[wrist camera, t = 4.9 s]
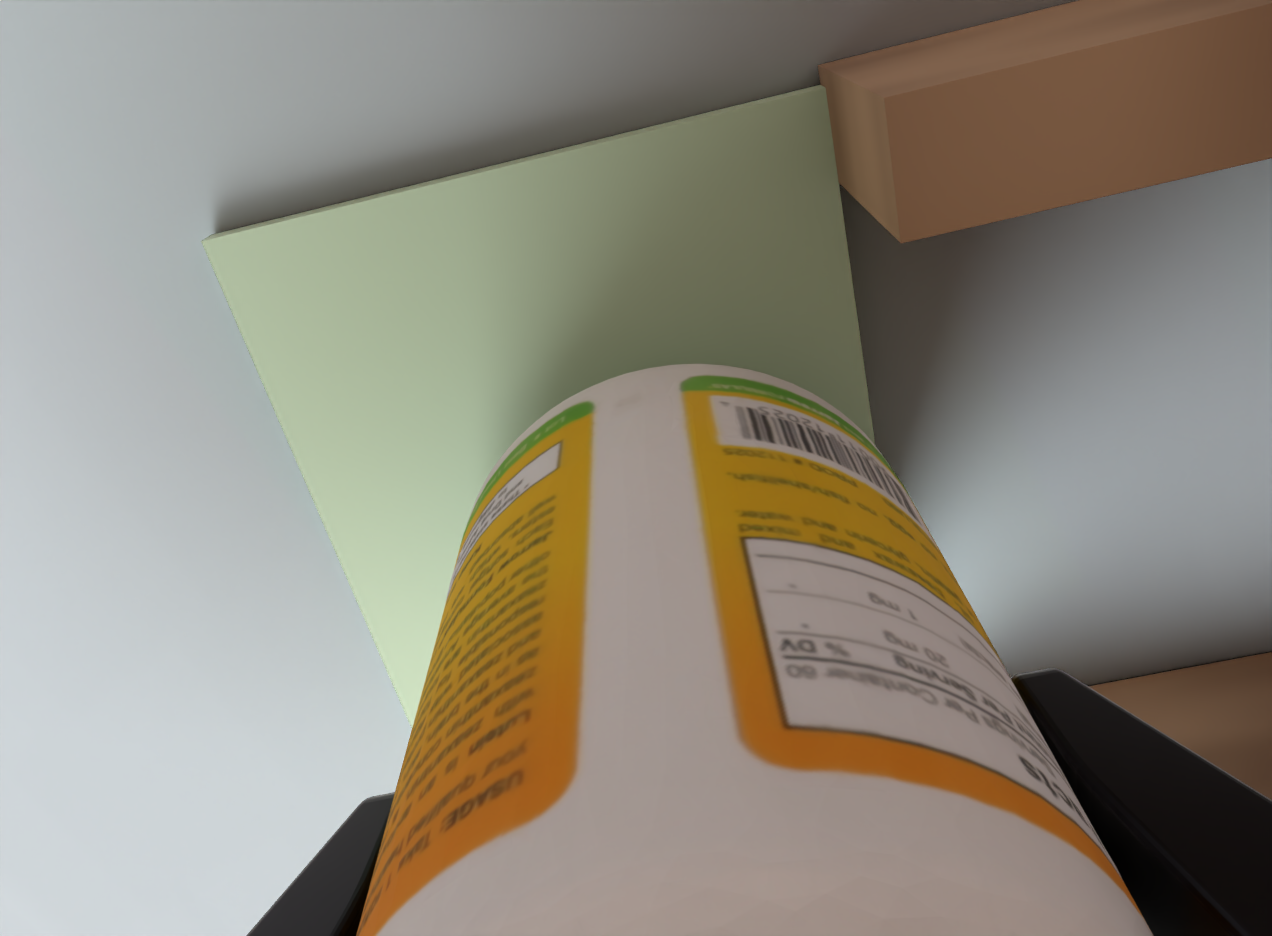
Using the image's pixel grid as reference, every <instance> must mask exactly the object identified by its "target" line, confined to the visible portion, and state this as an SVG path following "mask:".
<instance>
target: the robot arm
mask: <svg viewBox="0 0 1272 936" xmlns="http://www.w3.org/2000/svg"><path fill="white" fill-rule="evenodd" d="M1011 680H1012V682H1013V683H1014V685H1015V687H1016V689H1017V691H1018V693H1019V695H1020V696H1021V698H1022V700H1023V702H1024V704H1025V705H1026V707H1027V709H1028V711H1029V713H1030V714H1031V716H1032V718H1033V720H1034V722H1035V723H1036V725H1037V727H1038V729H1039V731H1040V732H1041V734H1042V736H1043V738H1044V740H1045V741H1046V743H1047V745H1048V747H1049V749H1050V750H1051V752H1052V754H1053V756H1054V758H1055V759H1056V761H1057V763H1058V765H1059V766H1060V768H1061V770H1062V772H1063V774H1064V776H1065V777H1066V779H1067V781H1068V783H1069V785H1070V787H1071V788H1072V790H1073V792H1074V794H1075V796H1076V798H1077V799H1078V801H1079V803H1080V805H1081V807H1082V808H1083V810H1084V812H1085V814H1086V816H1087V817H1088V819H1089V821H1090V823H1091V824H1092V826H1093V828H1094V830H1095V831H1096V833H1097V835H1098V837H1099V838H1100V840H1101V842H1102V844H1103V845H1104V847H1105V849H1106V851H1107V852H1108V854H1109V855H1110V857H1111V859H1112V860H1113V862H1114V864H1115V865H1116V867H1117V869H1118V871H1119V873H1120V875H1121V877H1122V879H1123V881H1124V883H1125V885H1126V887H1127V889H1128V891H1129V892H1130V894H1131V896H1132V898H1133V900H1134V901H1135V903H1136V905H1137V907H1138V909H1139V910H1140V912H1141V914H1142V916H1143V917H1144V919H1145V921H1146V923H1147V925H1148V926H1149V928H1150V930H1151V932H1152V934H1153V935H1154V936H1272V800H1271V799H1269V798H1268V797H1266V796H1264V795H1263V794H1261V793H1260V792H1258V791H1256V790H1255V789H1253V788H1251V787H1250V786H1248V785H1247V784H1245V783H1243V782H1242V781H1240V780H1239V779H1237V778H1235V777H1234V776H1232V775H1230V774H1229V773H1227V772H1226V771H1224V770H1222V769H1221V768H1219V767H1218V766H1216V765H1214V764H1213V763H1211V762H1209V761H1208V760H1206V759H1205V758H1203V757H1201V756H1200V755H1198V754H1197V753H1195V752H1193V751H1192V750H1190V749H1189V748H1187V747H1185V746H1184V745H1182V744H1180V743H1179V742H1177V741H1176V740H1174V739H1172V738H1171V737H1169V736H1168V735H1166V734H1164V733H1163V732H1161V731H1159V730H1158V729H1156V728H1155V727H1153V726H1151V725H1150V724H1148V723H1147V722H1145V721H1143V720H1142V719H1140V718H1138V717H1137V716H1135V715H1134V714H1132V713H1130V712H1129V711H1127V710H1126V709H1124V708H1122V707H1121V706H1119V705H1117V704H1116V703H1114V702H1113V701H1111V700H1109V699H1108V698H1106V697H1105V696H1103V695H1101V694H1100V693H1098V692H1097V691H1095V690H1093V689H1092V688H1090V687H1088V686H1087V685H1085V684H1084V683H1082V682H1080V681H1079V680H1077V679H1076V678H1074V677H1072V676H1071V675H1069V674H1067V673H1066V672H1064V671H1062V670H1059V669H1056V668H1048V669H1043V670H1038V671H1033V672H1027V673H1022V674H1017V675H1015V676H1014V677H1013V678H1012V679H1011ZM394 794H395V792H394V793H388V794H383V795H378V796H373V797H370V798H367V799H365V800H364V801H363V802H362V803H361V804H360V805H359V806H358V807H357V808H356V809H355V810H354V811H353V813H352V814H351V815H350V816H349V817H348V818H347V820H346V821H345V822H344V823H343V824H342V825H341V827H340V828H339V829H338V830H337V831H336V832H335V833H334V835H333V836H332V837H331V838H330V839H329V840H328V842H327V843H326V844H325V845H324V846H323V847H322V849H321V850H320V851H319V852H318V853H317V854H316V856H315V857H314V858H313V859H312V860H311V861H310V862H309V864H308V865H307V866H306V867H305V868H304V869H303V871H302V872H301V873H300V874H299V875H298V876H297V878H296V879H295V880H294V881H293V882H292V883H291V885H290V886H289V887H288V888H287V889H286V890H285V892H284V893H283V894H282V895H281V896H280V897H279V898H278V900H277V901H276V902H275V903H274V904H273V905H272V907H271V908H270V909H269V910H268V911H267V912H266V914H265V915H264V916H263V917H262V918H261V919H260V921H259V922H258V923H257V924H256V925H255V926H254V928H253V929H252V930H251V931H250V932H249V933H248V934H247V936H356V934H357V931H358V927H359V923H360V920H361V916H362V912H363V909H364V905H365V902H366V898H367V894H368V891H369V887H370V883H371V879H372V876H373V872H374V868H375V865H376V861H377V857H378V854H379V850H380V846H381V843H382V839H383V835H384V832H385V828H386V824H387V820H388V817H389V813H390V809H391V806H392V802H393V798H394Z"/></svg>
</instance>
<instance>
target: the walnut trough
mask: <svg viewBox="0 0 1272 936" xmlns="http://www.w3.org/2000/svg"><path fill="white" fill-rule="evenodd" d="M818 72H819V79H820V85H822V86H823V87H825V88H826V95H827V102H828V109H829V117H830V124H831V131H832V138H833V145H834V153H835V160H836V167H837V174H838V181H839V183H840V184H841V185H842V186H843V187H844V188H845V189H846V190H847V191H848V192H849V193H850V194H851V195H852V196H853V197H854V198H855V199H856V200H857V201H858V202H859V203H860V204H861V205H862V206H863V207H864V208H865V209H866V210H867V211H868V212H869V213H870V214H871V215H872V216H873V217H874V218H875V219H876V220H877V221H878V222H879V223H880V224H881V225H882V226H883V227H884V228H886V229H887V230H888V231H889V232H890V233H891V234H892V235H893V236H894V237H895V238H896V239H897V240H898V241H899V242H900V243H905V242H910V241H914V240H918V239H923V238H927V237H931V236H936V235H940V234H944V233H949V232H953V231H957V230H962V229H966V228H971V227H975V226H979V225H984V224H988V223H992V222H997V221H1001V220H1005V219H1010V218H1014V217H1018V216H1023V215H1027V214H1031V213H1036V212H1040V211H1044V210H1049V209H1053V208H1057V207H1062V206H1066V205H1070V204H1075V203H1079V202H1083V201H1088V200H1092V199H1096V198H1101V197H1105V196H1109V195H1114V194H1118V193H1122V192H1127V191H1131V190H1135V189H1140V188H1144V187H1148V186H1153V185H1157V184H1161V183H1166V182H1170V181H1174V180H1179V179H1183V178H1188V177H1192V176H1196V175H1201V174H1205V173H1209V172H1214V171H1218V170H1222V169H1227V168H1231V167H1235V166H1240V165H1244V164H1248V163H1253V162H1257V161H1261V160H1266V159H1270V158H1272V0H1078V1H1074V2H1070V3H1066V4H1062V5H1058V6H1054V7H1050V8H1046V9H1042V10H1038V11H1034V12H1030V13H1026V14H1022V15H1018V16H1014V17H1010V18H1006V19H1002V20H998V21H994V22H990V23H986V24H982V25H977V26H973V27H969V28H965V29H961V30H957V31H953V32H949V33H945V34H941V35H937V36H933V37H929V38H925V39H921V40H917V41H913V42H909V43H905V44H901V45H897V46H893V47H889V48H885V49H881V50H877V51H873V52H869V53H865V54H861V55H857V56H853V57H849V58H845V59H841V60H837V61H833V62H829V63H824V64H820V65H818ZM1088 687H1090V688H1092V689H1093V690H1095V691H1097V692H1098V693H1100V694H1101V695H1103V696H1105V697H1106V698H1108V699H1109V700H1111V701H1113V702H1114V703H1116V704H1117V705H1119V706H1121V707H1122V708H1124V709H1126V710H1127V711H1129V712H1130V713H1132V714H1134V715H1135V716H1137V717H1138V718H1140V719H1142V720H1143V721H1145V722H1147V723H1148V724H1150V725H1151V726H1153V727H1155V728H1156V729H1158V730H1159V731H1161V732H1163V733H1164V734H1166V735H1168V736H1169V737H1171V738H1172V739H1174V740H1176V741H1177V742H1179V743H1180V744H1182V745H1184V746H1185V747H1187V748H1189V749H1190V750H1192V751H1193V752H1195V753H1197V754H1198V755H1200V756H1201V757H1203V758H1205V759H1206V760H1208V761H1209V762H1211V763H1213V764H1214V765H1216V766H1218V767H1219V768H1221V769H1222V770H1224V771H1226V772H1227V773H1229V774H1230V775H1232V776H1234V777H1235V778H1237V779H1239V780H1240V781H1242V782H1243V783H1245V784H1247V785H1248V786H1250V787H1251V788H1253V789H1255V790H1256V791H1258V792H1260V793H1261V794H1263V795H1264V796H1266V797H1268V798H1269V799H1271V800H1272V652H1270V653H1264V654H1259V655H1254V656H1248V657H1243V658H1238V659H1232V660H1227V661H1222V662H1216V663H1211V664H1206V665H1200V666H1195V667H1190V668H1184V669H1179V670H1174V671H1168V672H1163V673H1157V674H1152V675H1147V676H1141V677H1136V678H1131V679H1125V680H1120V681H1115V682H1109V683H1104V684H1099V685H1093V686H1088Z"/></svg>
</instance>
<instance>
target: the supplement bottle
mask: <svg viewBox="0 0 1272 936" xmlns="http://www.w3.org/2000/svg"><path fill="white" fill-rule="evenodd" d="M356 936H1154V935H1153V934H1152V932H1151V930H1150V928H1149V926H1148V925H1147V923H1146V921H1145V919H1144V917H1143V916H1142V914H1141V912H1140V910H1139V909H1138V907H1137V905H1136V903H1135V901H1134V900H1133V898H1132V896H1131V894H1130V892H1129V891H1128V889H1127V887H1126V885H1125V883H1124V881H1123V879H1122V877H1121V875H1120V873H1119V871H1118V869H1117V867H1116V865H1115V864H1114V862H1113V860H1112V859H1111V857H1110V855H1109V854H1108V852H1107V851H1106V849H1105V847H1104V845H1103V844H1102V842H1101V840H1100V838H1099V837H1098V835H1097V833H1096V831H1095V830H1094V828H1093V826H1092V824H1091V823H1090V821H1089V819H1088V817H1087V816H1086V814H1085V812H1084V810H1083V808H1082V807H1081V805H1080V803H1079V801H1078V799H1077V798H1076V796H1075V794H1074V792H1073V790H1072V788H1071V787H1070V785H1069V783H1068V781H1067V779H1066V777H1065V776H1064V774H1063V772H1062V770H1061V768H1060V766H1059V765H1058V763H1057V761H1056V759H1055V758H1054V756H1053V754H1052V752H1051V750H1050V749H1049V747H1048V745H1047V743H1046V741H1045V740H1044V738H1043V736H1042V734H1041V732H1040V731H1039V729H1038V727H1037V725H1036V723H1035V722H1034V720H1033V718H1032V716H1031V714H1030V713H1029V711H1028V709H1027V707H1026V705H1025V704H1024V702H1023V700H1022V698H1021V696H1020V695H1019V693H1018V691H1017V689H1016V687H1015V685H1014V683H1013V682H1012V680H1011V678H1010V676H1009V674H1008V672H1007V671H1006V669H1005V667H1004V665H1003V663H1002V661H1001V660H1000V658H999V656H998V654H997V653H996V651H995V649H994V647H993V645H992V644H991V642H990V640H989V638H988V636H987V634H986V633H985V631H984V629H983V627H982V625H981V623H980V622H979V620H978V618H977V616H976V614H975V613H974V611H973V609H972V607H971V605H970V604H969V602H968V600H967V598H966V597H965V595H964V593H963V591H962V589H961V588H960V586H959V584H958V582H957V580H956V579H955V577H954V575H953V573H952V571H951V570H950V568H949V566H948V564H947V563H946V561H945V559H944V557H943V555H942V554H941V552H940V550H939V548H938V546H937V545H936V543H935V541H934V539H933V537H932V536H931V534H930V532H929V530H928V528H927V527H926V525H925V523H924V521H923V519H922V518H921V516H920V514H919V512H918V511H917V509H916V507H915V505H914V503H913V502H912V500H911V498H910V496H909V494H908V493H907V491H906V489H905V487H904V485H903V484H902V483H901V481H900V480H899V479H898V477H897V476H896V474H895V473H894V471H893V470H892V468H891V466H890V465H889V464H888V462H887V461H886V459H885V458H884V457H883V455H882V454H881V452H880V451H879V450H878V448H877V447H876V446H875V445H874V444H873V442H872V441H871V440H870V439H869V438H868V436H867V435H866V434H865V433H864V432H863V431H862V430H861V429H860V428H859V427H858V426H856V425H855V424H854V423H853V422H852V421H851V420H850V419H849V418H847V417H846V416H845V415H844V414H843V413H841V412H840V411H839V410H837V409H836V408H835V407H833V406H832V405H830V404H829V403H827V402H826V401H824V400H823V399H821V398H819V397H818V396H816V395H814V394H813V393H811V392H809V391H807V390H805V389H803V388H801V387H799V386H796V385H794V384H792V383H790V382H787V381H784V380H782V379H779V378H776V377H773V376H770V375H768V374H764V373H761V372H757V371H753V370H749V369H743V368H737V367H731V366H725V365H712V364H678V365H667V366H660V367H653V368H647V369H643V370H638V371H634V372H630V373H626V374H623V375H620V376H617V377H614V378H611V379H608V380H605V381H603V382H601V383H598V384H596V385H593V386H591V387H589V388H587V389H585V390H583V391H581V392H579V393H577V394H575V395H573V396H571V397H569V398H568V399H566V400H564V401H563V402H561V403H560V404H558V405H557V406H555V407H554V408H552V409H551V410H549V411H548V412H547V413H546V414H544V415H543V416H542V417H541V418H539V419H538V420H537V421H536V422H534V423H533V424H532V425H531V426H530V427H529V428H528V429H527V430H526V431H525V432H523V433H522V434H521V435H520V436H519V437H518V438H517V439H516V440H515V441H514V442H513V443H512V445H511V446H510V447H509V448H508V449H507V450H506V452H505V453H504V454H503V455H502V457H501V458H500V459H499V460H498V462H497V463H496V465H495V466H494V467H493V469H492V470H491V472H490V473H489V475H488V477H487V478H486V480H485V482H484V483H483V485H482V488H481V490H480V492H479V494H478V496H477V498H476V501H475V503H474V506H473V508H472V511H471V514H470V517H469V519H468V522H467V525H466V529H465V531H464V534H463V538H462V541H461V545H460V549H459V553H458V556H457V560H456V564H455V568H454V572H453V575H452V578H451V581H450V585H449V590H448V593H447V599H446V604H445V608H444V612H443V615H442V619H441V623H440V627H439V631H438V635H437V638H436V642H435V646H434V649H433V653H432V657H431V661H430V664H429V668H428V672H427V676H426V679H425V683H424V687H423V690H422V694H421V698H420V702H419V705H418V709H417V713H416V716H415V720H414V724H413V728H412V731H411V735H410V739H409V742H408V746H407V750H406V754H405V757H404V761H403V765H402V768H401V772H400V776H399V780H398V783H397V787H396V791H395V794H394V798H393V802H392V806H391V809H390V813H389V817H388V820H387V824H386V828H385V832H384V835H383V839H382V843H381V846H380V850H379V854H378V857H377V861H376V865H375V868H374V872H373V876H372V879H371V883H370V887H369V891H368V894H367V898H366V902H365V905H364V909H363V912H362V916H361V920H360V923H359V927H358V931H357V934H356Z"/></svg>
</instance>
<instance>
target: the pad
mask: <svg viewBox="0 0 1272 936" xmlns="http://www.w3.org/2000/svg"><path fill="white" fill-rule="evenodd" d="M201 242H202V244H203V247H204V249H205V251H206V254H207V256H208V258H209V261H210V263H211V265H212V268H213V270H214V272H215V275H216V277H217V279H218V281H219V284H220V286H221V288H222V291H223V293H224V295H225V298H226V300H227V302H228V305H229V307H230V309H231V312H232V314H233V316H234V318H235V321H236V323H237V325H238V328H239V330H240V332H241V335H242V337H243V339H244V342H245V344H246V346H247V349H248V351H249V353H250V355H251V358H252V360H253V362H254V365H255V367H256V369H257V372H258V374H259V376H260V379H261V381H262V383H263V386H264V388H265V390H266V392H267V395H268V397H269V399H270V402H271V404H272V406H273V409H274V411H275V413H276V416H277V418H278V420H279V423H280V425H281V427H282V430H283V432H284V434H285V436H286V439H287V441H288V443H289V446H290V448H291V450H292V453H293V455H294V457H295V460H296V462H297V464H298V467H299V469H300V471H301V473H302V476H303V478H304V480H305V483H306V485H307V487H308V490H309V492H310V494H311V497H312V499H313V501H314V504H315V506H316V508H317V510H318V513H319V515H320V517H321V520H322V522H323V524H324V527H325V529H326V531H327V534H328V536H329V538H330V541H331V543H332V545H333V547H334V550H335V552H336V554H337V557H338V559H339V561H340V564H341V566H342V568H343V571H344V573H345V575H346V578H347V580H348V582H349V585H350V587H351V589H352V591H353V594H354V596H355V598H356V601H357V603H358V605H359V608H360V610H361V612H362V615H363V617H364V619H365V622H366V624H367V626H368V628H369V631H370V633H371V635H372V638H373V640H374V642H375V645H376V647H377V649H378V652H379V654H380V656H381V659H382V661H383V663H384V665H385V668H386V670H387V672H388V675H389V677H390V679H391V682H392V684H393V686H394V689H395V691H396V693H397V696H398V698H399V700H400V702H401V705H402V707H403V709H404V712H405V714H406V716H407V719H408V721H409V723H410V726H411V728H413V724H414V720H415V716H416V713H417V709H418V705H419V702H420V698H421V694H422V690H423V687H424V683H425V679H426V676H427V672H428V668H429V664H430V661H431V657H432V653H433V649H434V646H435V642H436V638H437V635H438V631H439V627H440V623H441V619H442V615H443V612H444V608H445V604H446V599H447V593H448V590H449V585H450V581H451V578H452V575H453V572H454V568H455V564H456V560H457V556H458V553H459V549H460V545H461V541H462V538H463V534H464V531H465V529H466V525H467V522H468V519H469V517H470V514H471V511H472V508H473V506H474V503H475V501H476V498H477V496H478V494H479V492H480V490H481V488H482V485H483V483H484V482H485V480H486V478H487V477H488V475H489V473H490V472H491V470H492V469H493V467H494V466H495V465H496V463H497V462H498V460H499V459H500V458H501V457H502V455H503V454H504V453H505V452H506V450H507V449H508V448H509V447H510V446H511V445H512V443H513V442H514V441H515V440H516V439H517V438H518V437H519V436H520V435H521V434H522V433H523V432H525V431H526V430H527V429H528V428H529V427H530V426H531V425H532V424H533V423H534V422H536V421H537V420H538V419H539V418H541V417H542V416H543V415H544V414H546V413H547V412H548V411H549V410H551V409H552V408H554V407H555V406H557V405H558V404H560V403H561V402H563V401H564V400H566V399H568V398H569V397H571V396H573V395H575V394H577V393H579V392H581V391H583V390H585V389H587V388H589V387H591V386H593V385H596V384H598V383H601V382H603V381H605V380H608V379H611V378H614V377H617V376H620V375H623V374H626V373H630V372H634V371H638V370H643V369H647V368H653V367H660V366H667V365H678V364H712V365H725V366H731V367H737V368H743V369H749V370H753V371H757V372H761V373H764V374H768V375H770V376H773V377H776V378H779V379H782V380H784V381H787V382H790V383H792V384H794V385H796V386H799V387H801V388H803V389H805V390H807V391H809V392H811V393H813V394H814V395H816V396H818V397H819V398H821V399H823V400H824V401H826V402H827V403H829V404H830V405H832V406H833V407H835V408H836V409H837V410H839V411H840V412H841V413H843V414H844V415H845V416H846V417H847V418H849V419H850V420H851V421H852V422H853V423H854V424H855V425H856V426H858V427H859V428H860V429H861V430H862V431H863V432H864V433H865V434H866V435H867V436H868V438H869V439H870V440H871V441H872V442H873V444H874V445H875V440H874V433H873V426H872V418H871V411H870V404H869V397H868V390H867V383H866V375H865V368H864V361H863V354H862V347H861V339H860V332H859V325H858V318H857V311H856V303H855V296H854V289H853V282H852V275H851V268H850V260H849V253H848V246H847V239H846V232H845V224H844V217H843V210H842V203H841V196H840V189H839V181H838V174H837V167H836V160H835V153H834V145H833V138H832V131H831V124H830V117H829V109H828V102H827V95H826V88H825V87H823V86H822V85H817V86H813V87H809V88H805V89H801V90H797V91H793V92H789V93H785V94H781V95H776V96H772V97H768V98H764V99H760V100H756V101H752V102H748V103H744V104H740V105H736V106H732V107H728V108H724V109H720V110H716V111H712V112H708V113H703V114H699V115H695V116H691V117H687V118H683V119H679V120H675V121H671V122H667V123H663V124H659V125H655V126H651V127H647V128H643V129H639V130H634V131H630V132H626V133H622V134H618V135H614V136H610V137H606V138H602V139H598V140H594V141H590V142H586V143H582V144H578V145H574V146H570V147H566V148H561V149H557V150H553V151H549V152H545V153H541V154H537V155H533V156H529V157H525V158H521V159H517V160H513V161H509V162H505V163H501V164H497V165H493V166H488V167H484V168H480V169H476V170H472V171H468V172H464V173H460V174H456V175H452V176H448V177H444V178H440V179H436V180H432V181H428V182H424V183H420V184H415V185H411V186H407V187H403V188H399V189H395V190H391V191H387V192H383V193H379V194H375V195H371V196H367V197H363V198H359V199H355V200H351V201H346V202H342V203H338V204H334V205H330V206H326V207H322V208H318V209H314V210H310V211H306V212H302V213H298V214H294V215H290V216H286V217H282V218H278V219H273V220H269V221H265V222H261V223H257V224H253V225H249V226H245V227H241V228H237V229H233V230H229V231H225V232H221V233H217V234H213V235H210V236H209V237H207V238H206V239H204V240H202V241H201Z"/></svg>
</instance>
